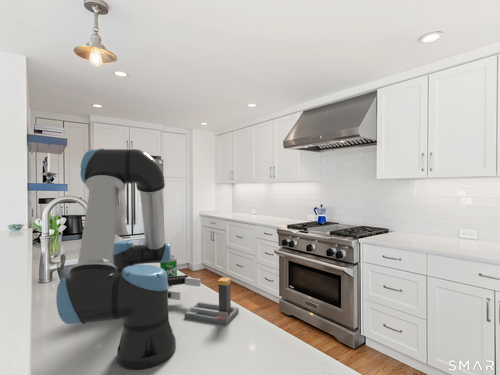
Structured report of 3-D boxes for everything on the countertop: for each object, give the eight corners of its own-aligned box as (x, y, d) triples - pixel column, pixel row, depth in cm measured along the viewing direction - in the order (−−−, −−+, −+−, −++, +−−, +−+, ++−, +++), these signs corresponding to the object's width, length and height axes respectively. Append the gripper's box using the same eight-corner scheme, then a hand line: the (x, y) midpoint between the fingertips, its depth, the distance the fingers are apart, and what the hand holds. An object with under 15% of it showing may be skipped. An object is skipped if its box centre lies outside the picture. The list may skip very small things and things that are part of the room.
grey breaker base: (226, 324, 95) (226, 316, 94) (184, 317, 100) (184, 309, 100) (238, 312, 104) (238, 304, 104) (199, 306, 110) (199, 298, 110)
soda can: (157, 283, 136) (156, 257, 136) (168, 278, 142) (168, 254, 142) (169, 285, 132) (168, 259, 132) (180, 280, 139) (179, 255, 139)
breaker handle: (227, 314, 98) (226, 281, 98) (218, 313, 99) (217, 280, 99) (231, 310, 101) (230, 278, 101) (222, 309, 102) (222, 277, 102)
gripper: (163, 282, 125) (207, 287, 118) (118, 305, 102) (169, 313, 94) (163, 264, 125) (206, 268, 117) (118, 284, 102) (169, 290, 94)
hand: (190, 288), depth 106 cm, fingers open, 13 cm apart
